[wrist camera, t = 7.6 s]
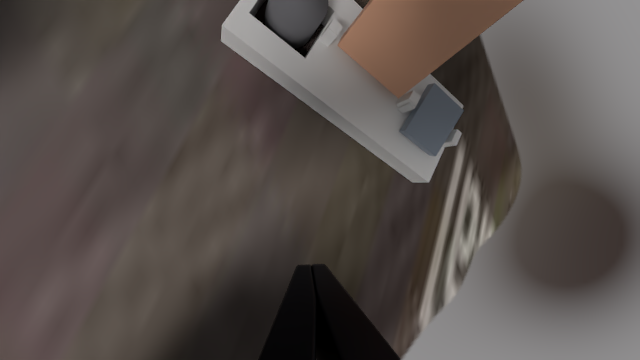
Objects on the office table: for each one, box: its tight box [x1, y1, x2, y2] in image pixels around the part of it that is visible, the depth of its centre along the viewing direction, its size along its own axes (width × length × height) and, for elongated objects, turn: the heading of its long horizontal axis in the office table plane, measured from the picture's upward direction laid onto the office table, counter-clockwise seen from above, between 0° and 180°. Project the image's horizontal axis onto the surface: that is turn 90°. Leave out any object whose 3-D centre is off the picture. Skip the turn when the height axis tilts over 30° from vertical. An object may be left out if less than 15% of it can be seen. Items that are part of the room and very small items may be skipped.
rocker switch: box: [399, 83, 464, 156], centre depth 21 cm, size 4×4×1 cm
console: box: [221, 0, 463, 183], centre depth 20 cm, size 8×19×4 cm, turn 59°
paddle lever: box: [337, 0, 523, 99], centre depth 16 cm, size 1×6×10 cm, turn 59°
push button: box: [264, 0, 328, 48], centre depth 18 cm, size 4×4×3 cm
